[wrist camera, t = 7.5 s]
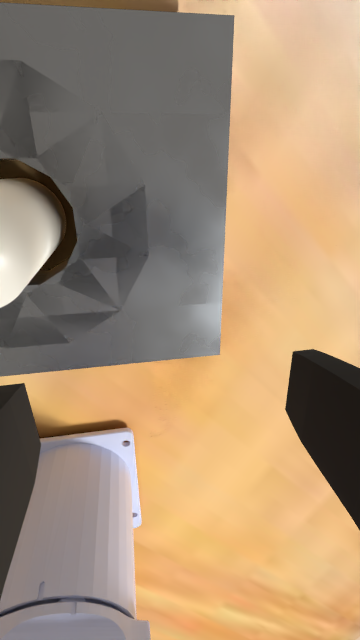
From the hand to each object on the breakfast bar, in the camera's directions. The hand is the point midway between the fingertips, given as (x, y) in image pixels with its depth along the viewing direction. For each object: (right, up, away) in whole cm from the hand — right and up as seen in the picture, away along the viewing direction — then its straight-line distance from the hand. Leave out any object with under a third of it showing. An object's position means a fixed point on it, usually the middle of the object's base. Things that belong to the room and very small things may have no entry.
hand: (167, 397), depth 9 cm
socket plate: (-7, +7, +7) cm, 12 cm away
